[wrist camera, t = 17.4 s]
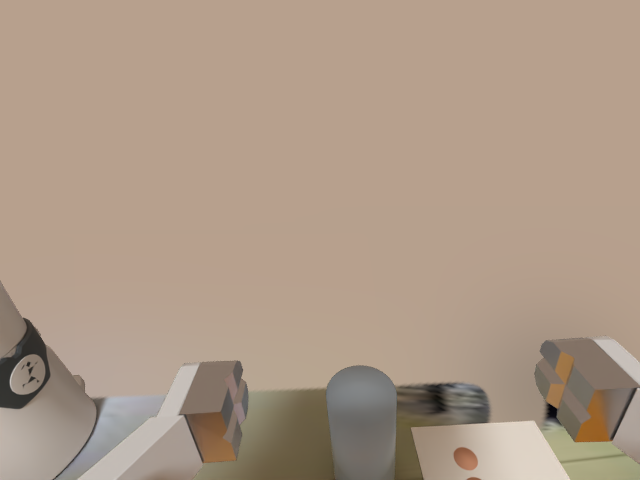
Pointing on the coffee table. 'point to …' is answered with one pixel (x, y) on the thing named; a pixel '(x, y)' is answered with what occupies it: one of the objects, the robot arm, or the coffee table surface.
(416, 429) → the mat
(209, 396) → the robot arm
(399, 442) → the coffee table surface
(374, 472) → the pale blue cylinder
